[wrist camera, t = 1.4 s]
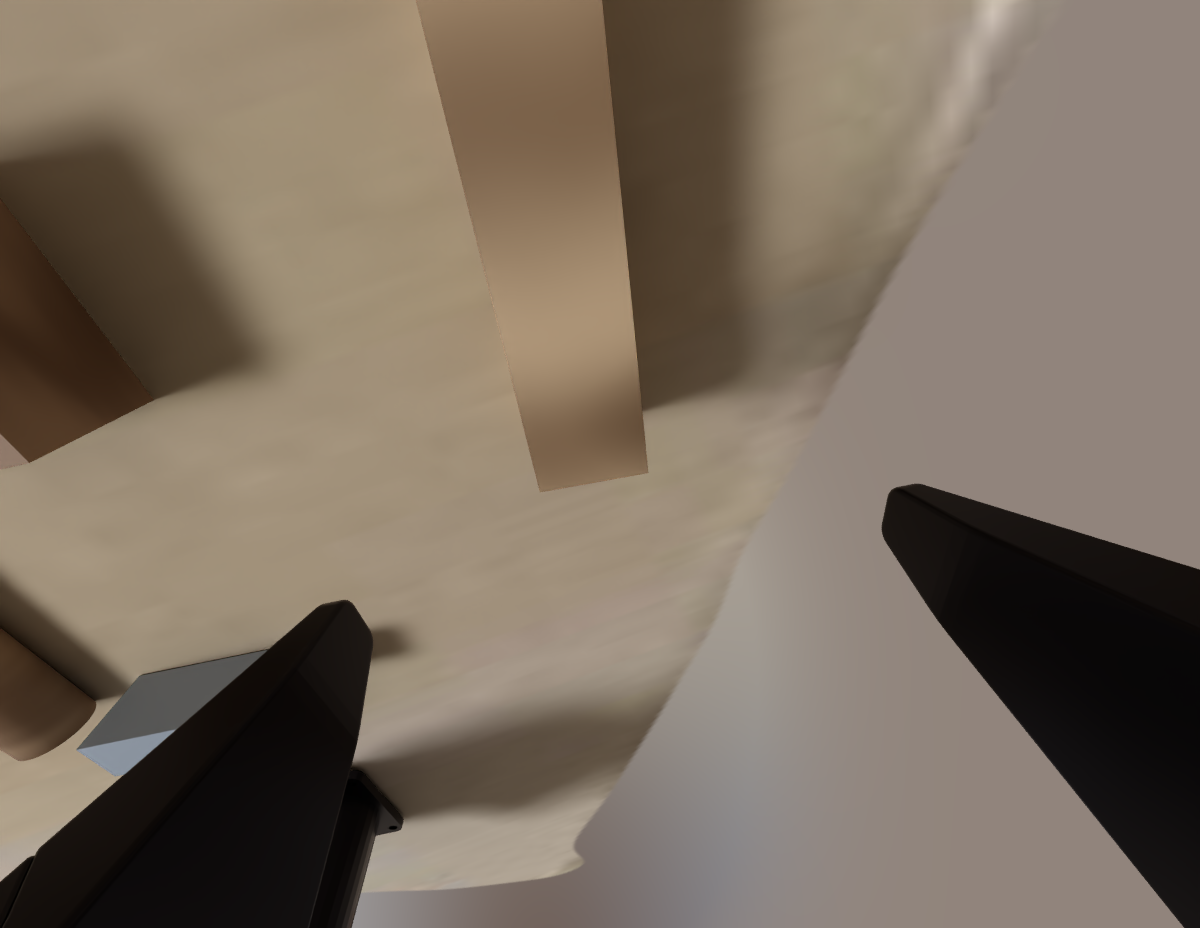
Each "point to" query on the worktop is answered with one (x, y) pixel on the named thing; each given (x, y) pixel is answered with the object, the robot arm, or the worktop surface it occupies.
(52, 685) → the dowel
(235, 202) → the worktop surface
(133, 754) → the stop batten
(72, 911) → the robot arm
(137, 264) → the worktop surface
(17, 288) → the block
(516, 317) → the wooden l-shaped bracket
